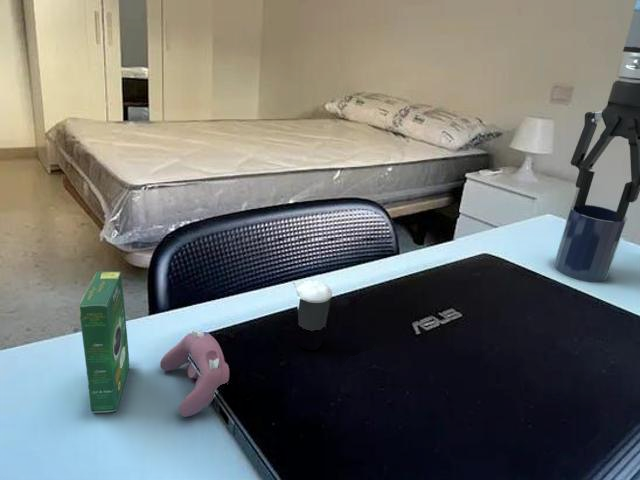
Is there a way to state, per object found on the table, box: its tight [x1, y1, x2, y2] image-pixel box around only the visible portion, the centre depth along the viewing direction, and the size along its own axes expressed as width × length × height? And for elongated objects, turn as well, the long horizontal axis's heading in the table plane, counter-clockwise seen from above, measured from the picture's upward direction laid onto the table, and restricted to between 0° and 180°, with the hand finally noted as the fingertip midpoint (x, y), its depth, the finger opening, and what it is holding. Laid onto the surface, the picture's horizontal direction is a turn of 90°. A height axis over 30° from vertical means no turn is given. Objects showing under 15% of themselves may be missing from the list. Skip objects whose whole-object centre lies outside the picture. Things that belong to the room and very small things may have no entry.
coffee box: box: [78, 270, 130, 414], centre depth 54 cm, size 8×3×13 cm, turn 10°
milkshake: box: [291, 279, 333, 331], centre depth 65 cm, size 4×5×10 cm
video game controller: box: [159, 330, 230, 418], centre depth 57 cm, size 10×5×7 cm, turn 30°
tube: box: [553, 203, 628, 283], centre depth 95 cm, size 9×9×12 cm
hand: (599, 211), depth 92 cm, fingers open, 6 cm apart
